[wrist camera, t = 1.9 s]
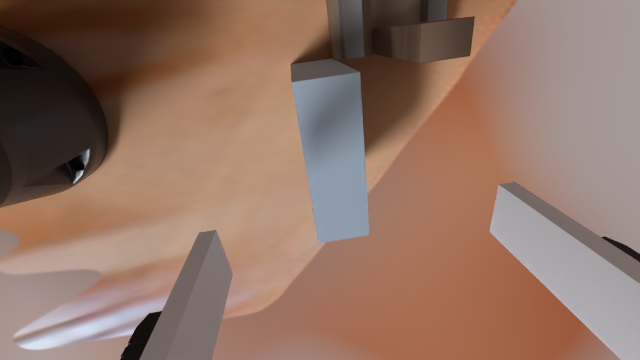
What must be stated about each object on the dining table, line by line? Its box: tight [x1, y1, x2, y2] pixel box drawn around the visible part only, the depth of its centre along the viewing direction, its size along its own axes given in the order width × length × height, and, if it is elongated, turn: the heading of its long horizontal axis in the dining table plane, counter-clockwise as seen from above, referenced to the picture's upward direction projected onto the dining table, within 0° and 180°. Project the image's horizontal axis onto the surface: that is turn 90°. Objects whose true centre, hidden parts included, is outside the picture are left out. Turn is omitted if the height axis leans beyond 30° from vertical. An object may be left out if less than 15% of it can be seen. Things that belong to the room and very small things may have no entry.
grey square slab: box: [291, 58, 369, 243], centre depth 24 cm, size 4×12×12 cm, turn 7°
